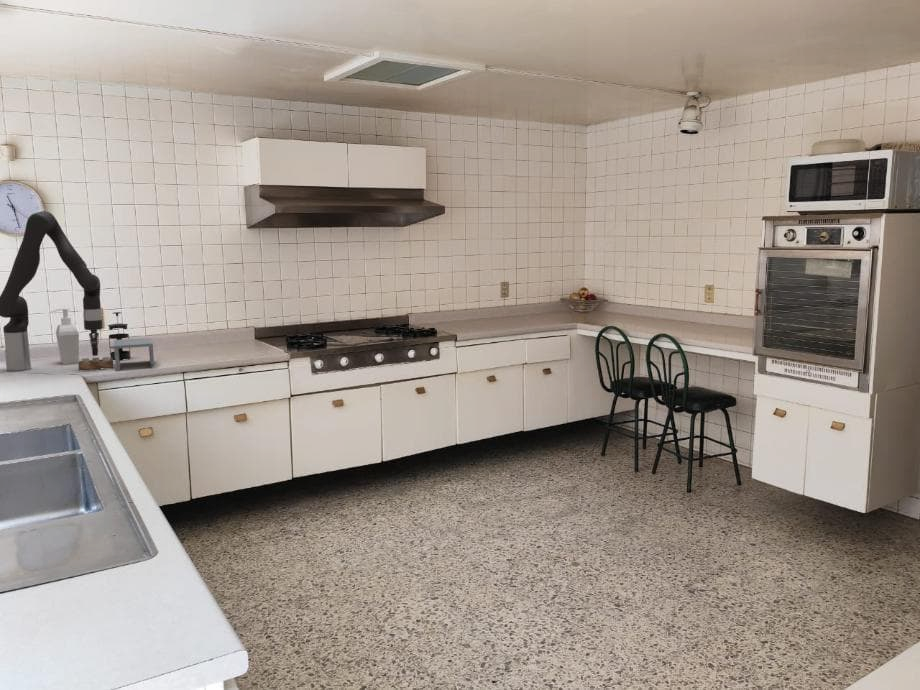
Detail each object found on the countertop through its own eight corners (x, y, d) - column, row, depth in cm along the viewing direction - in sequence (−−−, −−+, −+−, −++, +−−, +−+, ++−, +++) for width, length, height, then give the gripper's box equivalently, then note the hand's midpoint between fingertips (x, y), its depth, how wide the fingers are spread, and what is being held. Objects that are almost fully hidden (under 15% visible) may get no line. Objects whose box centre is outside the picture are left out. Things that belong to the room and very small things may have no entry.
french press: (130, 360, 357) (127, 312, 353) (109, 361, 353) (105, 313, 349) (131, 356, 367) (128, 310, 364) (110, 357, 364) (107, 311, 360)
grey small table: (115, 370, 330) (113, 346, 328) (116, 363, 348) (114, 340, 346) (154, 367, 336) (152, 343, 335) (152, 360, 354) (150, 337, 352)
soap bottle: (54, 361, 353) (49, 308, 349) (77, 359, 359) (73, 307, 355) (57, 365, 343) (52, 310, 339) (81, 363, 349) (76, 309, 344)
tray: (113, 366, 341) (112, 355, 340) (113, 368, 336) (112, 357, 335) (79, 368, 335) (78, 358, 334) (79, 370, 330) (78, 360, 329)
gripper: (102, 320, 328) (104, 356, 330) (102, 316, 340) (104, 351, 343) (83, 321, 324) (85, 357, 327) (83, 317, 337) (86, 352, 340)
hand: (95, 354), depth 335 cm, fingers open, 8 cm apart
